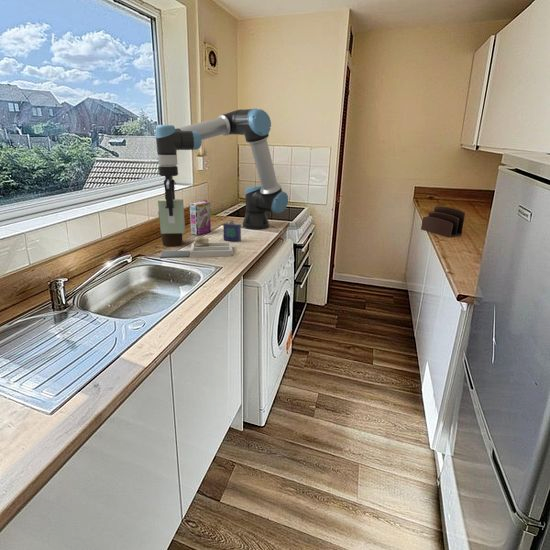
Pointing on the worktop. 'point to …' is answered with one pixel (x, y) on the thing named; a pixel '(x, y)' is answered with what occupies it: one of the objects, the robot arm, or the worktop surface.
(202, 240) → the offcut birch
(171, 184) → the robot arm
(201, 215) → the candy bar box
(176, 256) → the mat
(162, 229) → the panel
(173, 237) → the olive oil
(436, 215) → the letter holder
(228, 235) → the flask
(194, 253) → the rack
